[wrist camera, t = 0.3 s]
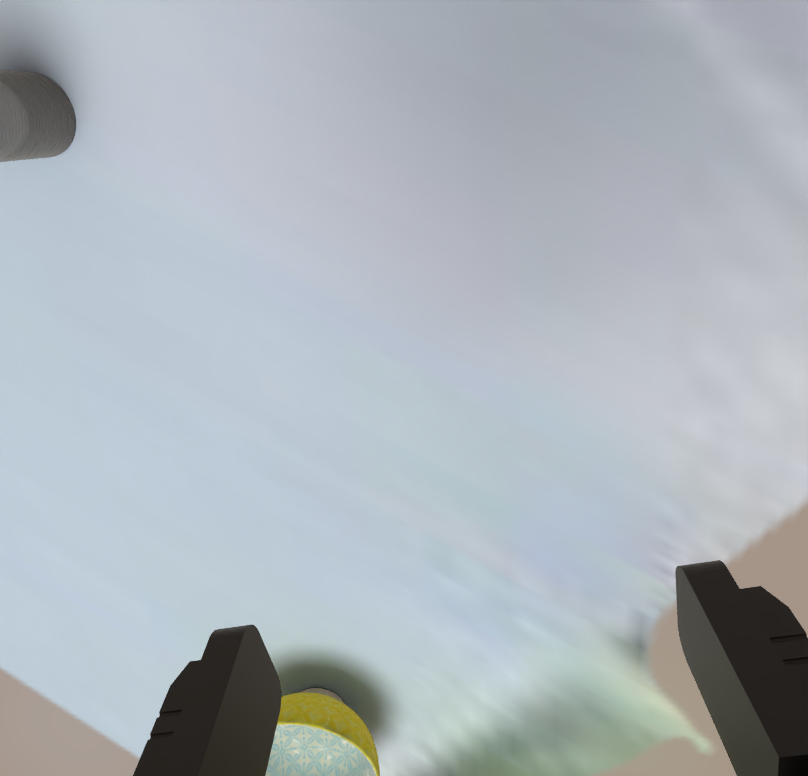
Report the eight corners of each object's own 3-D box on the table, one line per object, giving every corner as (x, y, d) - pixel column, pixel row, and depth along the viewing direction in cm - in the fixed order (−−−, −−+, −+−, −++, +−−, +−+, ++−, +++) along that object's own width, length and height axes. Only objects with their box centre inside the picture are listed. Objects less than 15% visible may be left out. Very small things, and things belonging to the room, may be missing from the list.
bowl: (371, 769, 56) (359, 843, 50) (243, 734, 56) (217, 804, 50) (404, 678, 51) (395, 748, 45) (265, 639, 51) (239, 705, 45)
